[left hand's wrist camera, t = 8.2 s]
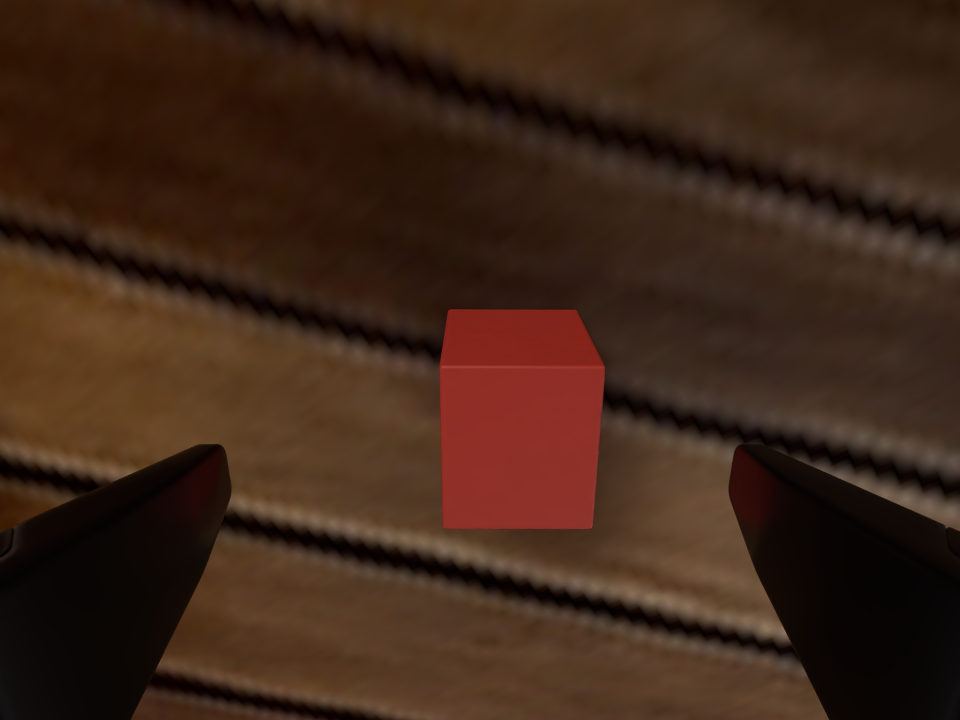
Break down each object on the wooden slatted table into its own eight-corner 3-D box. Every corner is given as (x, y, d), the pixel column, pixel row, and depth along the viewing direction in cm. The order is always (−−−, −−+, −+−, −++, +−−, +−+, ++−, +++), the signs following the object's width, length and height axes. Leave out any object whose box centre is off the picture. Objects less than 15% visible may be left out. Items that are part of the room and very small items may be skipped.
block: (577, 308, 20) (606, 366, 16) (569, 443, 22) (593, 530, 17) (447, 308, 20) (438, 365, 16) (449, 443, 22) (442, 530, 17)
